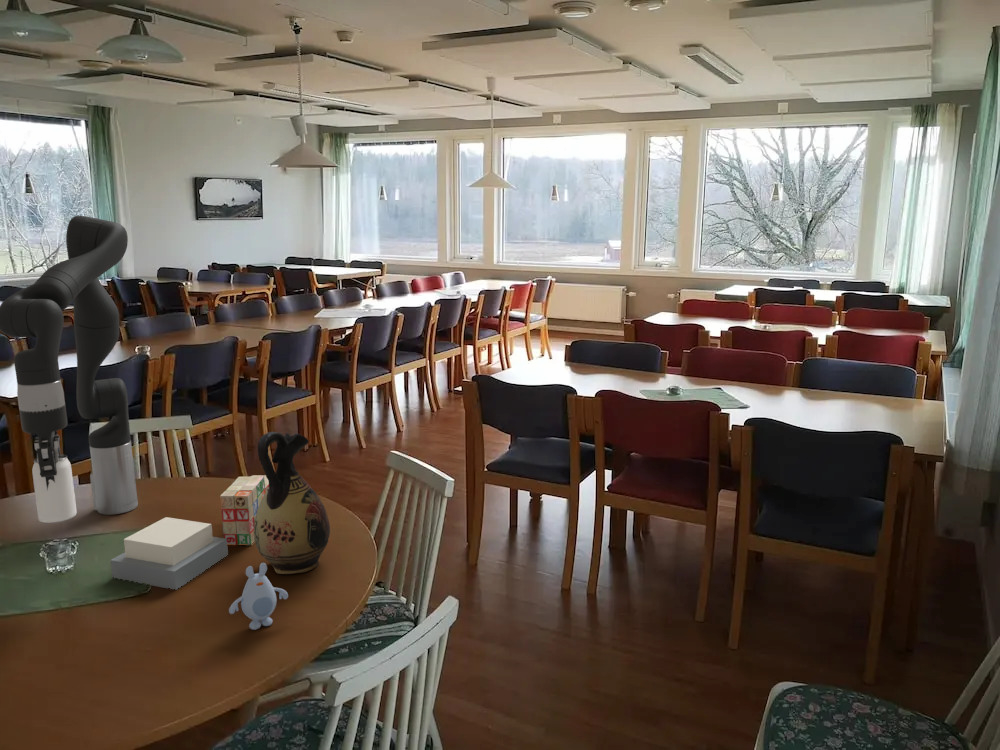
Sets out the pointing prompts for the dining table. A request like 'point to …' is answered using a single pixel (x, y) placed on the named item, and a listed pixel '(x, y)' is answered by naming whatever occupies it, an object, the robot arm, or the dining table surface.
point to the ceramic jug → (289, 510)
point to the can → (55, 493)
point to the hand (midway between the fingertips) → (53, 489)
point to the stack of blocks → (242, 508)
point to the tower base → (169, 571)
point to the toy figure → (258, 598)
